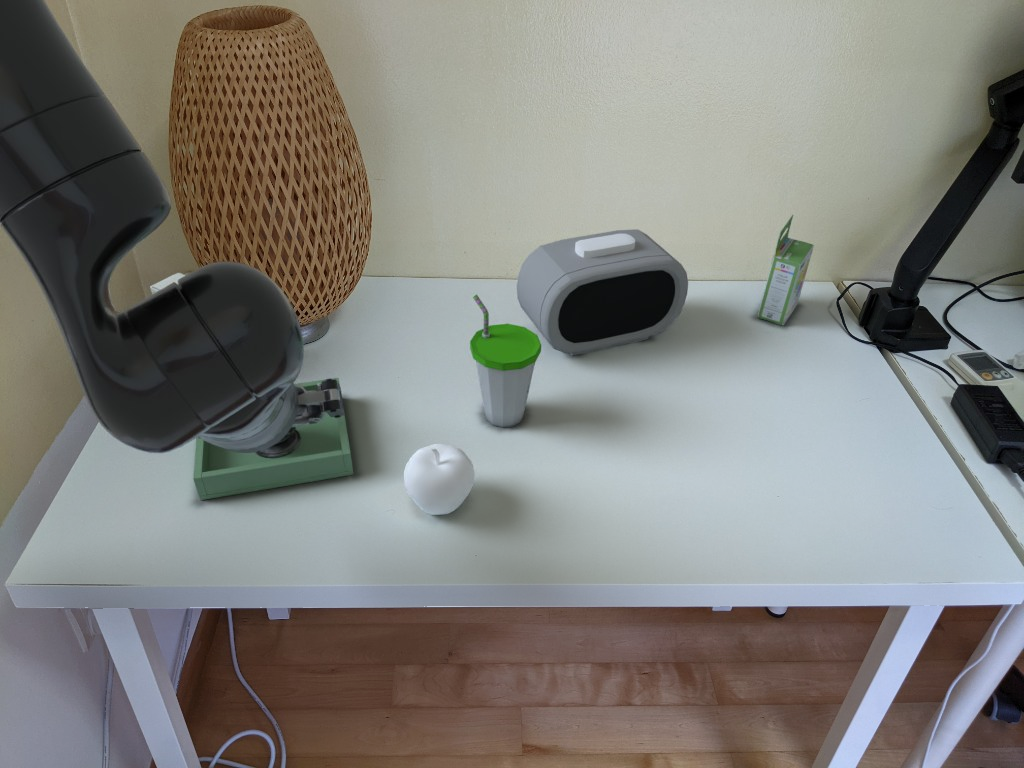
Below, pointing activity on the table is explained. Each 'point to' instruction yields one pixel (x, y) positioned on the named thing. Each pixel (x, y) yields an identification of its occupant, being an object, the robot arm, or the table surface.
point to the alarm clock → (601, 290)
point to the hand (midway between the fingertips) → (263, 419)
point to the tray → (275, 460)
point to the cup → (504, 368)
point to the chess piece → (283, 445)
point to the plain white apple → (439, 478)
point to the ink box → (785, 278)
